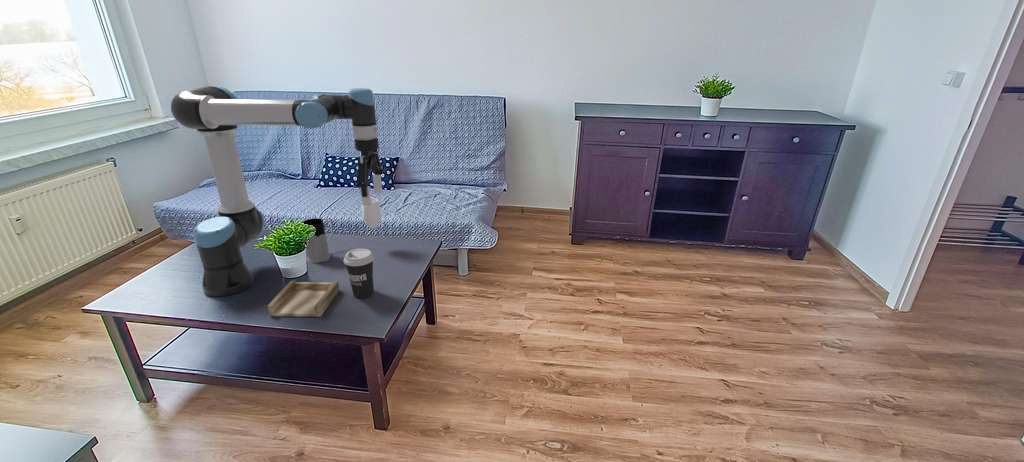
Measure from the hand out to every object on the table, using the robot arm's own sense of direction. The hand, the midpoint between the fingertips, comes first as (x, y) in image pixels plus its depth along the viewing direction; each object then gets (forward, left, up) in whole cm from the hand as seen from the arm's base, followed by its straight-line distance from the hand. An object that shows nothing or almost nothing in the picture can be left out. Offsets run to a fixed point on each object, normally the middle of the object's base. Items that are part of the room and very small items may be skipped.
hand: (372, 198), depth 160 cm
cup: (-7, +18, -28) cm, 34 cm away
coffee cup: (-1, -17, -28) cm, 33 cm away
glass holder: (-26, +12, -28) cm, 40 cm away
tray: (-18, -23, -28) cm, 41 cm away
